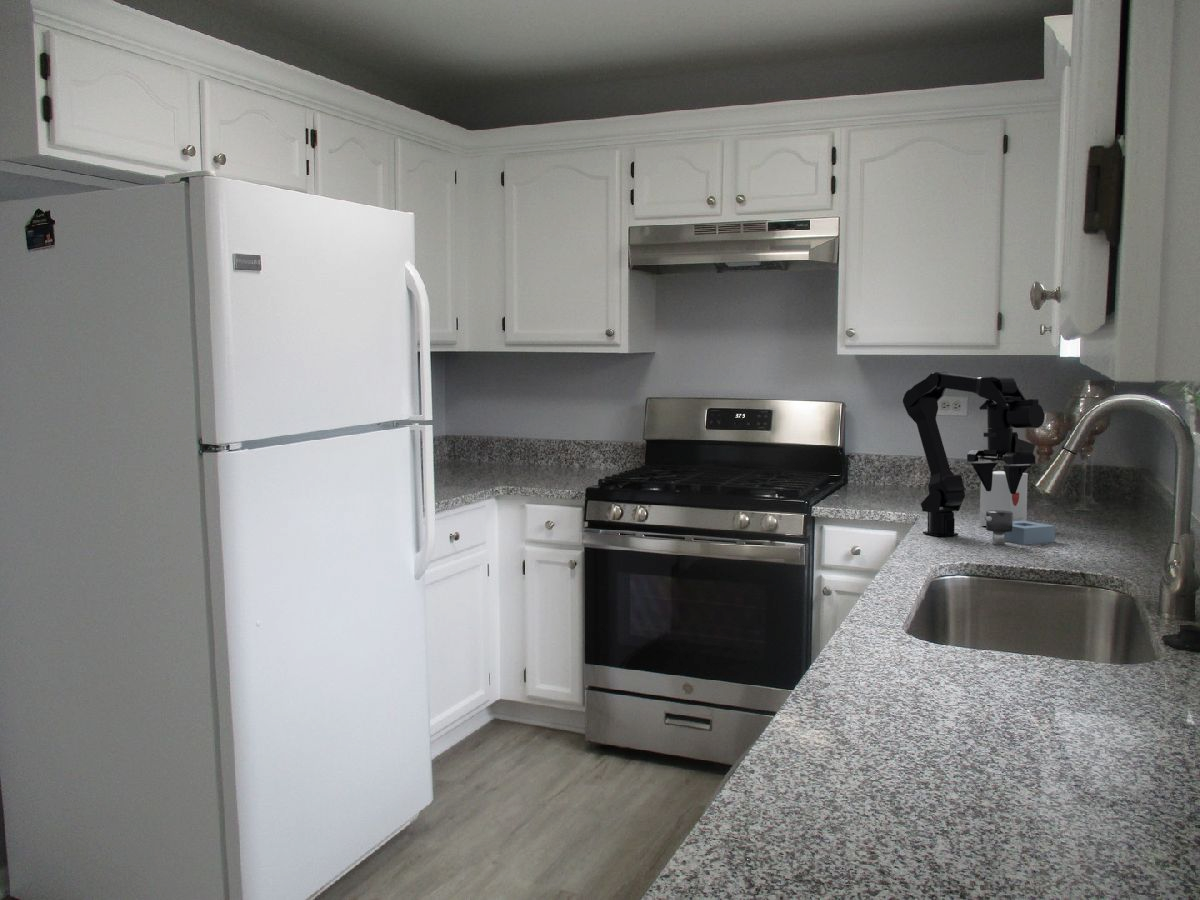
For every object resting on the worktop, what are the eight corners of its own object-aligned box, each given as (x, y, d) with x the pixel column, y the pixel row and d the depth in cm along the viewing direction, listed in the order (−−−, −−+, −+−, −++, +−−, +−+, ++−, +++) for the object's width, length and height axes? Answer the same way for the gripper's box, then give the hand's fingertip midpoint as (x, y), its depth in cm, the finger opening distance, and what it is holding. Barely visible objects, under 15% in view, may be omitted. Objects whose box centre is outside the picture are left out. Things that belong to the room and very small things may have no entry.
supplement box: (1009, 530, 254) (1010, 474, 253) (978, 526, 261) (979, 472, 260) (1027, 527, 259) (1028, 472, 258) (997, 523, 267) (998, 470, 265)
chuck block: (993, 538, 241) (993, 522, 241) (1023, 535, 245) (1023, 520, 244) (1023, 544, 232) (1024, 528, 231) (1054, 541, 235) (1055, 525, 235)
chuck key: (995, 547, 228) (996, 514, 228) (976, 543, 234) (977, 511, 233) (1020, 545, 231) (1021, 512, 231) (1002, 541, 237) (1002, 509, 236)
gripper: (1055, 427, 223) (1056, 494, 223) (1004, 427, 241) (1004, 488, 241) (1014, 428, 220) (1014, 496, 221) (965, 428, 238) (966, 490, 239)
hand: (1000, 492), depth 230 cm, fingers open, 9 cm apart
